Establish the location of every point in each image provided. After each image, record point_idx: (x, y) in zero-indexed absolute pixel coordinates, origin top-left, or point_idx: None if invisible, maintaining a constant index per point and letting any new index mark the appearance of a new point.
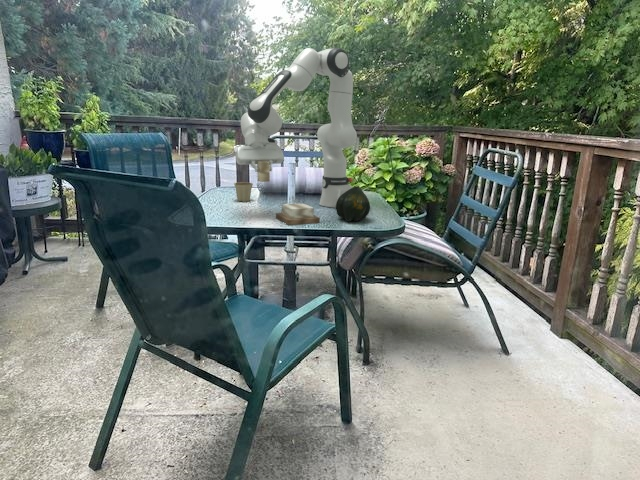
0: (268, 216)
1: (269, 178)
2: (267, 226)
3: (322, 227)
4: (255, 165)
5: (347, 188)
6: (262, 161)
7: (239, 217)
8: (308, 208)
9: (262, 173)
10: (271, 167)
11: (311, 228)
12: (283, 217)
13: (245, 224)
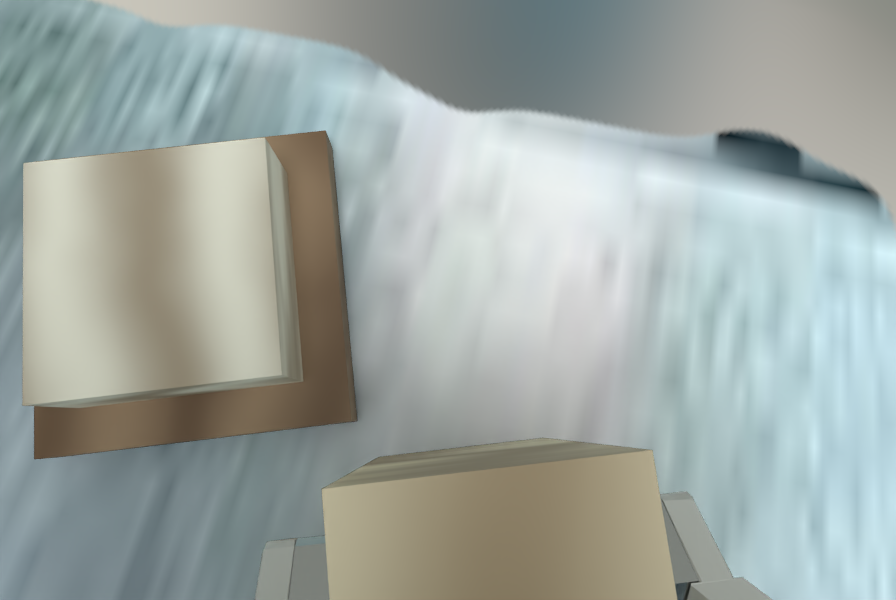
0: None
1: (376, 460)
2: (493, 147)
3: (101, 42)
4: (738, 596)
5: None
6: None
7: None
8: (81, 159)
9: (525, 446)
10: (266, 576)
11: (192, 31)
12: (332, 237)
13: (649, 239)
